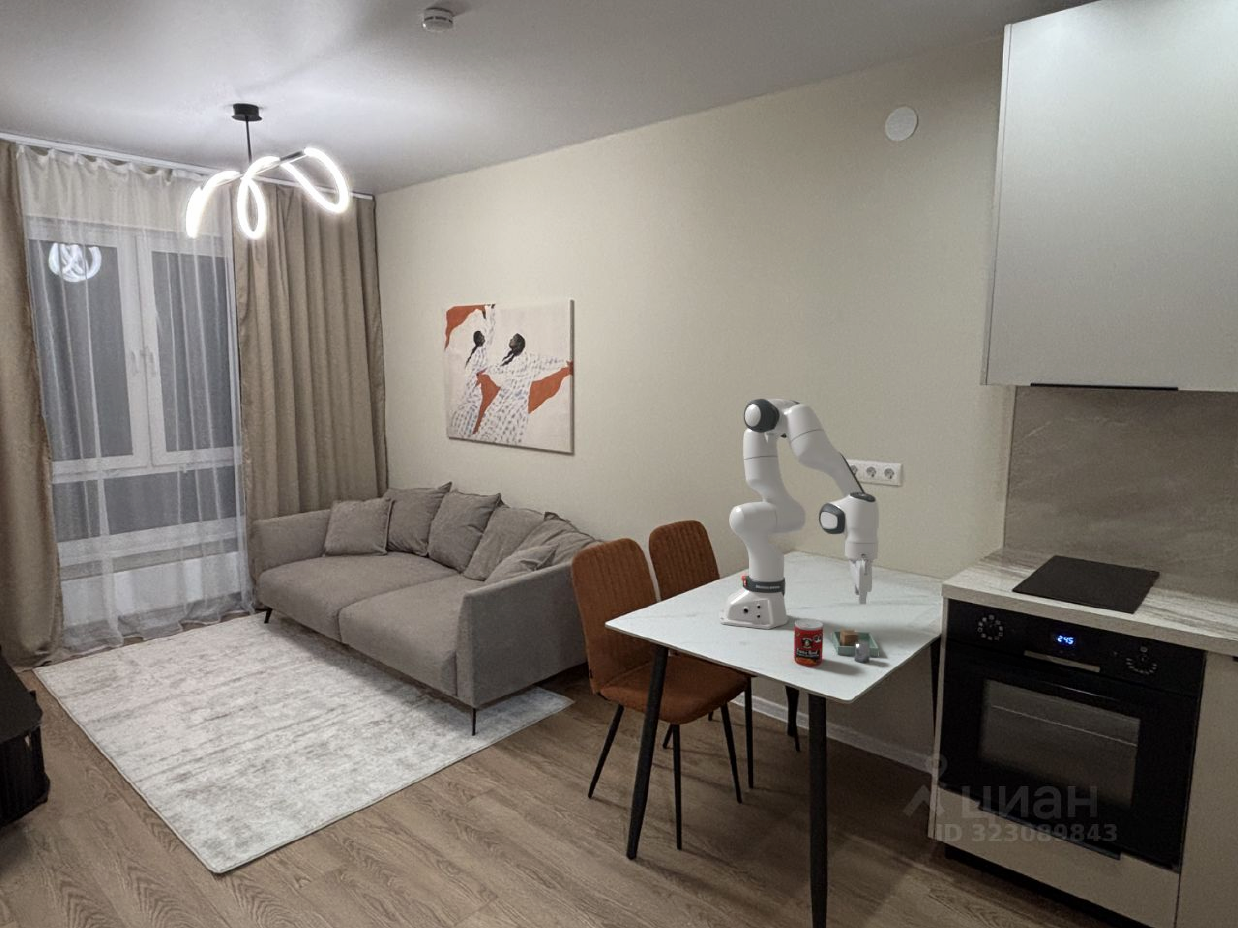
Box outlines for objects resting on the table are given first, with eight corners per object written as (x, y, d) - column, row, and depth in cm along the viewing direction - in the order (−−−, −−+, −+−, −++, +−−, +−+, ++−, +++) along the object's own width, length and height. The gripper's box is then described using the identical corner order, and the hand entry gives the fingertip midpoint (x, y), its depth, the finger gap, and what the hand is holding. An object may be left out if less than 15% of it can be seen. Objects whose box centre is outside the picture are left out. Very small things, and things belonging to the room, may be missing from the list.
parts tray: (837, 654, 215) (837, 646, 214) (831, 638, 228) (831, 630, 227) (878, 656, 213) (878, 648, 213) (869, 640, 226) (870, 632, 226)
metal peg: (855, 663, 209) (856, 645, 208) (853, 657, 213) (853, 640, 212) (870, 663, 208) (871, 646, 208) (867, 658, 212) (868, 641, 212)
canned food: (792, 664, 208) (792, 626, 206) (796, 654, 215) (796, 617, 214) (820, 668, 205) (821, 629, 204) (823, 658, 213) (824, 620, 211)
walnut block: (844, 651, 216) (844, 634, 215) (839, 646, 220) (840, 630, 219) (857, 651, 216) (858, 634, 215) (853, 646, 220) (854, 629, 219)
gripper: (878, 559, 200) (877, 610, 202) (868, 543, 220) (867, 589, 222) (853, 558, 201) (852, 609, 203) (846, 543, 221) (845, 588, 223)
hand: (860, 598), depth 212 cm, fingers open, 8 cm apart
